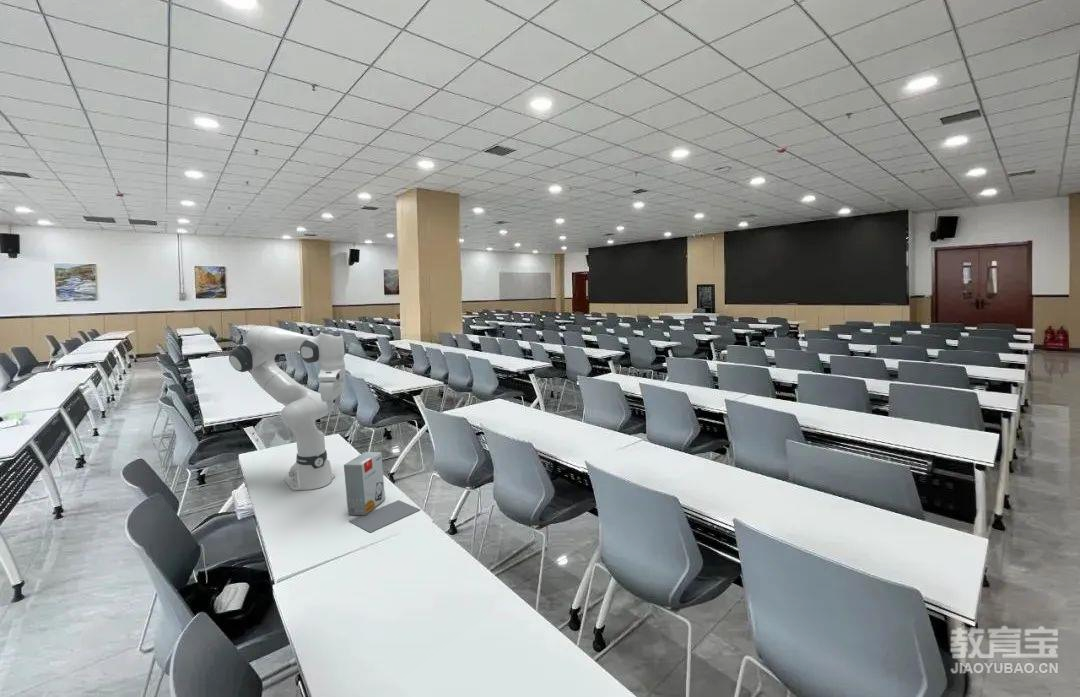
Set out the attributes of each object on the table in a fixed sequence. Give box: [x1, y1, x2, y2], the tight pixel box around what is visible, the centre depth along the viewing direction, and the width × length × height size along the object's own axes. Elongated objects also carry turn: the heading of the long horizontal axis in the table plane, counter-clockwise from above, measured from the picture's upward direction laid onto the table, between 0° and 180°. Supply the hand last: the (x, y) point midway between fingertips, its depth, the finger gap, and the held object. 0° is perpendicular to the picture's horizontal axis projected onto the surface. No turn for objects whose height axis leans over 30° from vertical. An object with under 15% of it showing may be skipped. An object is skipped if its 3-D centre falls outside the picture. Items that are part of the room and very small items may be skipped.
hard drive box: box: [343, 451, 386, 516], centre depth 198 cm, size 16×8×20 cm, turn 168°
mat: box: [348, 499, 421, 534], centre depth 192 cm, size 14×22×1 cm, turn 141°
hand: (334, 408), depth 196 cm, fingers open, 8 cm apart
